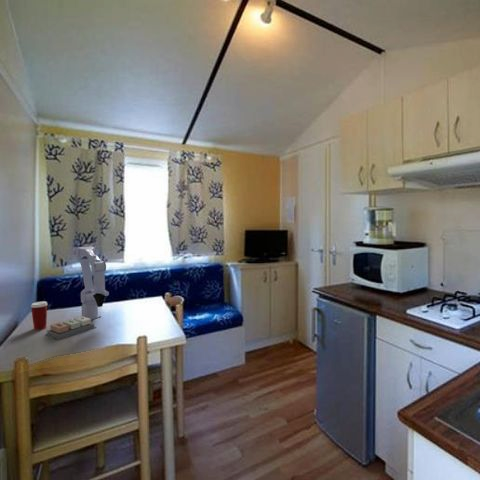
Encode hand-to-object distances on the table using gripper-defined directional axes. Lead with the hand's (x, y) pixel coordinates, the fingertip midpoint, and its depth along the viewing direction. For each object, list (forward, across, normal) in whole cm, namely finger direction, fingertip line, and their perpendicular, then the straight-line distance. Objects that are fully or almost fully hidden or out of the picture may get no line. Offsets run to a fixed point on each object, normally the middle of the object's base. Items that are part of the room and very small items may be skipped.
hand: (100, 306), depth 163 cm
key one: (+8, -4, -8) cm, 12 cm away
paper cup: (+11, -23, -21) cm, 33 cm away
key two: (+8, -4, -14) cm, 17 cm away
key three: (+8, -4, -20) cm, 22 cm away
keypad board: (+10, -4, -14) cm, 18 cm away
